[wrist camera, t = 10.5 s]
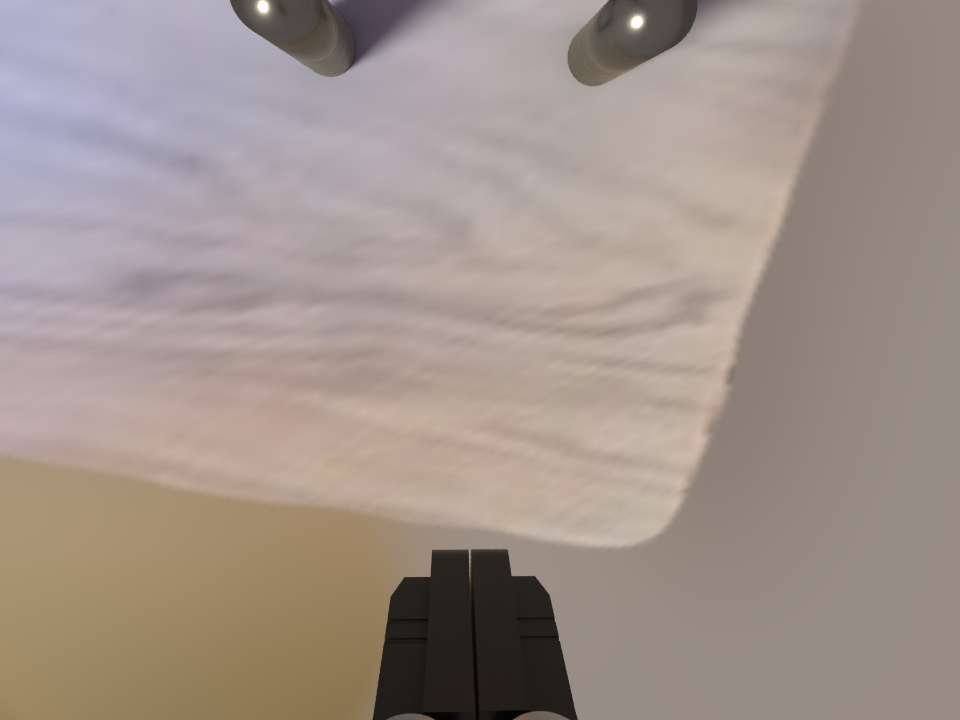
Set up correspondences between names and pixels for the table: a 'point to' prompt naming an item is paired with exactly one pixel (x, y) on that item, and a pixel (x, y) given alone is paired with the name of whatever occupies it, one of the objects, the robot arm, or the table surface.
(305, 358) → the table surface
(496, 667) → the robot arm
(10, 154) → the table surface
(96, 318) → the table surface
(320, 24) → the post
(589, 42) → the post
